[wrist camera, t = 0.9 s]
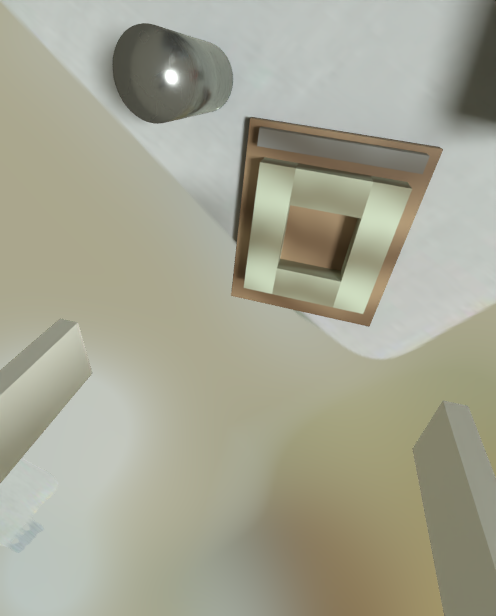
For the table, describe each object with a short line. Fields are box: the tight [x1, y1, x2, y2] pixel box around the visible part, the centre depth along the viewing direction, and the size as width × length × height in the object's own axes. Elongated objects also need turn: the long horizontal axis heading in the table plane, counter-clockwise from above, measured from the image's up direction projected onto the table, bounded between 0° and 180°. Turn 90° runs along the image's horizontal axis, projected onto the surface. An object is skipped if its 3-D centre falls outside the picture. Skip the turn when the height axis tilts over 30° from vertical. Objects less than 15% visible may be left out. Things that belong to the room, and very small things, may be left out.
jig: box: [231, 117, 443, 326], centre depth 29 cm, size 16×14×3 cm
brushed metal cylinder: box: [113, 23, 233, 123], centre depth 22 cm, size 4×4×9 cm
